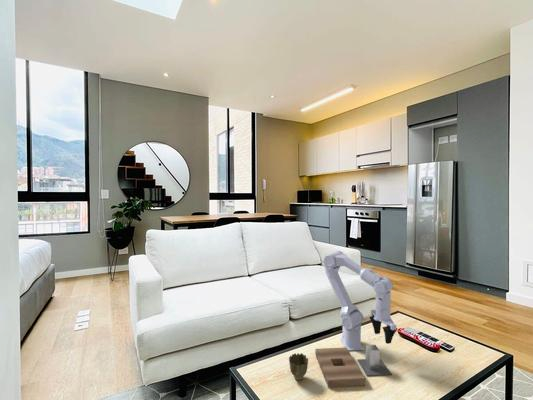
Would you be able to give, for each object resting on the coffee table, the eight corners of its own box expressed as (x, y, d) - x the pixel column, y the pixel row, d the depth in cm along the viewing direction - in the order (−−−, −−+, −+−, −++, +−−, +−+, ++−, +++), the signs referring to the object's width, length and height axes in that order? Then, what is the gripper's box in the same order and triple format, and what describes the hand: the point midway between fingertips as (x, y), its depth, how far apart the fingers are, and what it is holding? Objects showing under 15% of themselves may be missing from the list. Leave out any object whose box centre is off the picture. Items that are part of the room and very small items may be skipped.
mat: (357, 360, 121) (357, 359, 121) (380, 359, 122) (380, 358, 122) (367, 376, 111) (367, 375, 111) (391, 375, 112) (391, 373, 112)
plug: (365, 363, 118) (365, 345, 118) (374, 363, 118) (375, 344, 118) (369, 369, 114) (370, 350, 114) (379, 369, 114) (379, 350, 114)
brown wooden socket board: (315, 355, 125) (315, 348, 125) (346, 353, 126) (346, 347, 126) (328, 387, 105) (328, 380, 105) (364, 385, 106) (365, 378, 106)
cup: (285, 374, 112) (285, 355, 112) (302, 370, 115) (302, 351, 115) (294, 387, 105) (294, 366, 105) (311, 382, 108) (311, 361, 108)
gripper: (365, 301, 127) (364, 330, 127) (385, 315, 112) (385, 348, 113) (379, 299, 128) (378, 328, 129) (401, 313, 114) (400, 346, 115)
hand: (382, 338), depth 121 cm, fingers open, 7 cm apart
